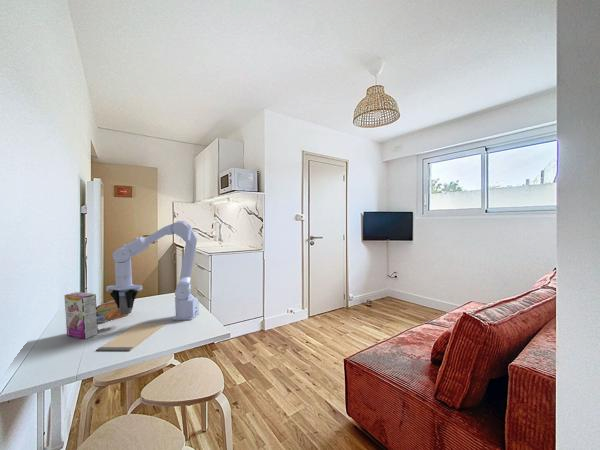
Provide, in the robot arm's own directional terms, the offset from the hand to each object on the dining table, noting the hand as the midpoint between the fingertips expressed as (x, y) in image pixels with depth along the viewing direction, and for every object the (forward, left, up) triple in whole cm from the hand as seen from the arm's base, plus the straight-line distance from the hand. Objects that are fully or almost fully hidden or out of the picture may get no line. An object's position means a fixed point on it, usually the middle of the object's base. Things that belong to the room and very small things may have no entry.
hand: (125, 307), depth 107 cm
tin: (+11, -7, -8) cm, 15 cm away
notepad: (-11, +10, -8) cm, 17 cm away
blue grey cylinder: (0, 0, -2) cm, 2 cm away
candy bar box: (+11, +9, -8) cm, 16 cm away
